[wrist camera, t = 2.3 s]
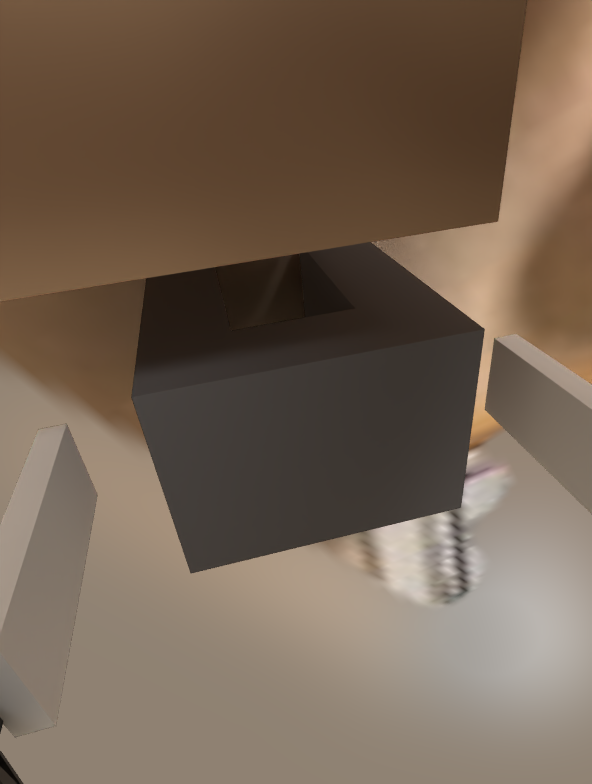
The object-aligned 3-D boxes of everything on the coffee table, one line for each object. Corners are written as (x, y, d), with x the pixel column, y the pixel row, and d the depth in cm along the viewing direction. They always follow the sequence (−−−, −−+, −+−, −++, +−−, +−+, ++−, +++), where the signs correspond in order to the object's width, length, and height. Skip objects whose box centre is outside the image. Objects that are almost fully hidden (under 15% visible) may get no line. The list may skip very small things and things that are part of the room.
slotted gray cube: (148, 265, 18) (131, 397, 10) (356, 232, 19) (484, 329, 11) (183, 397, 21) (190, 573, 14) (360, 362, 22) (460, 507, 15)
